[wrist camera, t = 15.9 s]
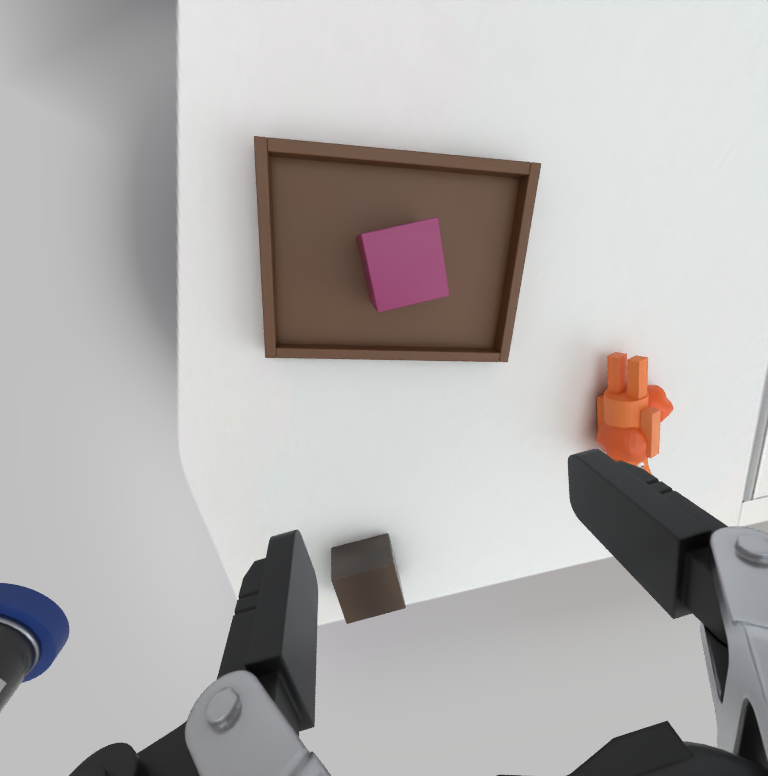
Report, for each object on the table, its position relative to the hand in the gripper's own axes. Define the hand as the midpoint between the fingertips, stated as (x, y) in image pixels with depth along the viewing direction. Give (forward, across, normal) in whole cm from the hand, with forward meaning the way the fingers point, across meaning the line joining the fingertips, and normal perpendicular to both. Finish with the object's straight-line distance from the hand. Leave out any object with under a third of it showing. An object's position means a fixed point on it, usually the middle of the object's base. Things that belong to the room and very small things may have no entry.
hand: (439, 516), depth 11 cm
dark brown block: (+23, +5, +23) cm, 33 cm away
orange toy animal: (+22, -23, +12) cm, 34 cm away
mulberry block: (+22, -4, -6) cm, 23 cm away
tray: (+22, -4, -6) cm, 24 cm away
